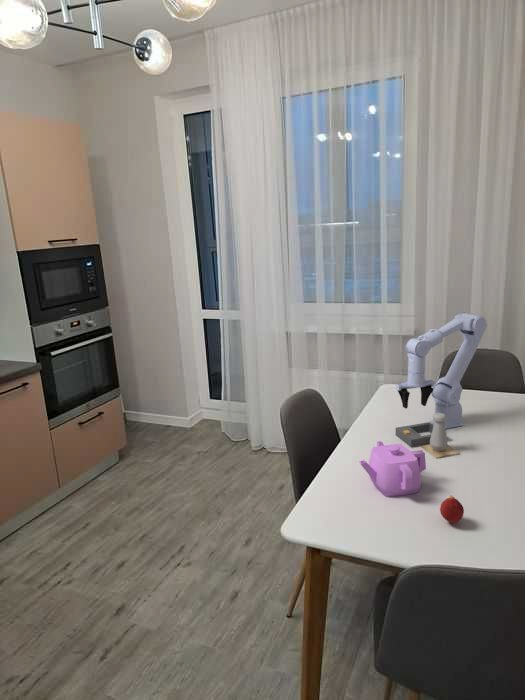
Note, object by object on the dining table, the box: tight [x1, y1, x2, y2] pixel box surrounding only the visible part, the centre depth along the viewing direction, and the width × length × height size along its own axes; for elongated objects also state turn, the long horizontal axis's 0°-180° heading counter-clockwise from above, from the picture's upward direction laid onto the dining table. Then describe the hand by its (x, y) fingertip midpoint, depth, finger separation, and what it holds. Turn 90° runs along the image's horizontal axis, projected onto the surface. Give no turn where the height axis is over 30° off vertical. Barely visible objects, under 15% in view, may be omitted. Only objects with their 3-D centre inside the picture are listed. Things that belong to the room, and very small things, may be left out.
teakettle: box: [359, 440, 427, 498], centre depth 149 cm, size 17×17×12 cm
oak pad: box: [421, 443, 461, 459], centre depth 169 cm, size 9×9×1 cm
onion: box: [439, 495, 465, 524], centre depth 129 cm, size 6×6×8 cm
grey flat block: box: [395, 421, 447, 448], centre depth 179 cm, size 14×11×4 cm
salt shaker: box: [429, 412, 448, 452], centre depth 168 cm, size 6×6×13 cm
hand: (414, 406), depth 182 cm, fingers open, 7 cm apart
